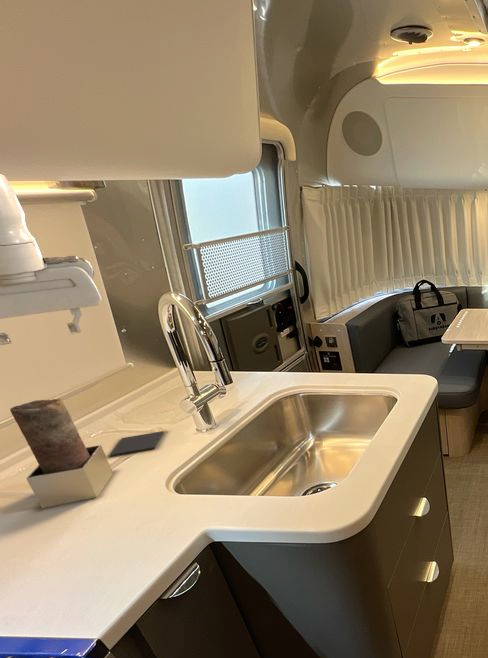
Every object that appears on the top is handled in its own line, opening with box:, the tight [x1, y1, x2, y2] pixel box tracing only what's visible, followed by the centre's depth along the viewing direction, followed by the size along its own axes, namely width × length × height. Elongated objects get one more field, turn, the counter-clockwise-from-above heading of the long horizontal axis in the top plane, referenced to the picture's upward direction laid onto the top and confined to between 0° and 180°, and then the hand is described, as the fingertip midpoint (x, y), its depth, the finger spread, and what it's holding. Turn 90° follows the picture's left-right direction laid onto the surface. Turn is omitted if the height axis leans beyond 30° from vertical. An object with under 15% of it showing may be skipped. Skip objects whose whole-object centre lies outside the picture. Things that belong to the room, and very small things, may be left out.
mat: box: [110, 431, 164, 457], centre depth 116 cm, size 8×8×1 cm
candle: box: [9, 398, 90, 474], centre depth 96 cm, size 8×7×20 cm
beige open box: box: [26, 444, 114, 509], centre depth 98 cm, size 9×10×7 cm
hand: (41, 338), depth 88 cm, fingers open, 8 cm apart
